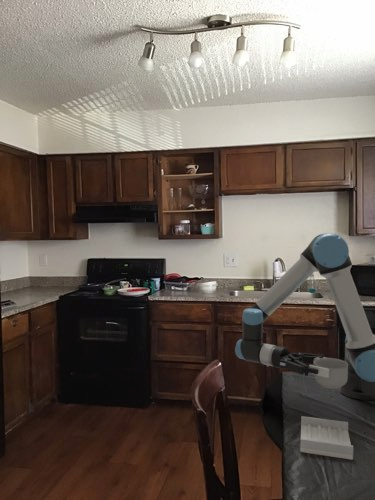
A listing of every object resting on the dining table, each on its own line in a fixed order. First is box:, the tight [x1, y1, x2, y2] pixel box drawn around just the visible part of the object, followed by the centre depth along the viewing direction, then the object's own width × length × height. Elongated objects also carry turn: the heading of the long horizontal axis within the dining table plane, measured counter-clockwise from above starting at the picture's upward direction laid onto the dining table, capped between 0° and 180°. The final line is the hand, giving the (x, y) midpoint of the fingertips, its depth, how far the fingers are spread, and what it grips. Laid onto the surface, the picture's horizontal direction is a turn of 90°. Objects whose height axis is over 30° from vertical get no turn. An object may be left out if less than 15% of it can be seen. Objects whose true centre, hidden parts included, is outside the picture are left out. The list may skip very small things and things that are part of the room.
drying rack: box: [299, 415, 354, 460], centre depth 127 cm, size 16×14×4 cm
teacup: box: [312, 357, 348, 390], centre depth 143 cm, size 14×11×8 cm
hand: (335, 369), depth 140 cm, fingers closed on teacup, 11 cm apart
